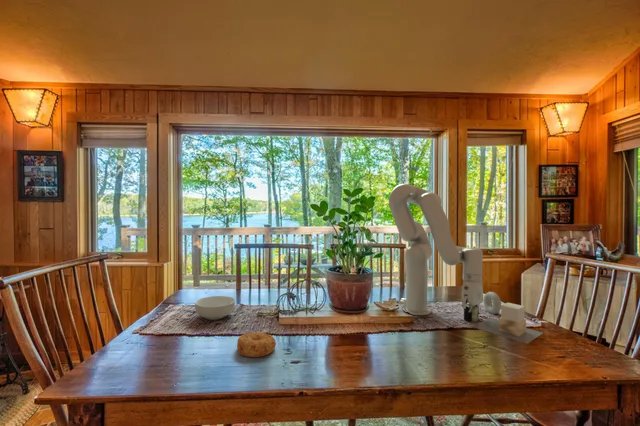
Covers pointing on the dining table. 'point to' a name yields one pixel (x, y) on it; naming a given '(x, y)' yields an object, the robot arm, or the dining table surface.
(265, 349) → the bagel
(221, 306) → the cereal bowl
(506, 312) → the top block
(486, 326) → the tile
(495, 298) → the donut
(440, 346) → the dining table surface
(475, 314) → the cylinder
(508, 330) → the base block
